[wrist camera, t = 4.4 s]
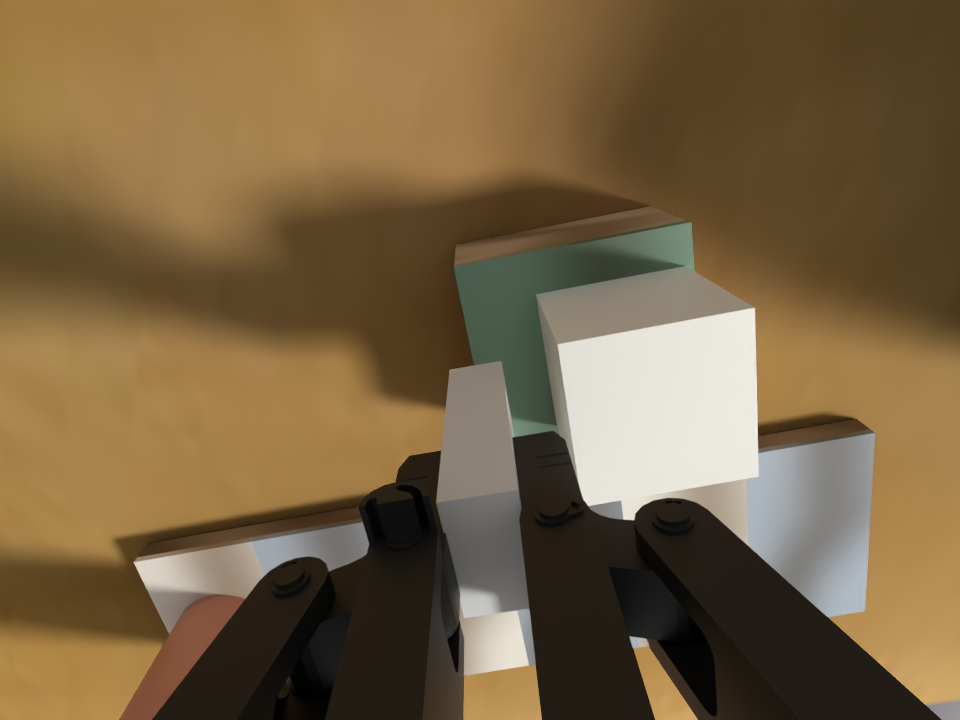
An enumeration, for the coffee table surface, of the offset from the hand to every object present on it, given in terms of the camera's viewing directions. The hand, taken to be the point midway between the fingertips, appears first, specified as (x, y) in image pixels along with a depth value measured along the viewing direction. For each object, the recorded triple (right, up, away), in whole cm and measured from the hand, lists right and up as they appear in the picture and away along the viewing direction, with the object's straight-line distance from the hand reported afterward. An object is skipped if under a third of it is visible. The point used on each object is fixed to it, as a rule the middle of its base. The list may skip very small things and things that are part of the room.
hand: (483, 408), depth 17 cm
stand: (+3, +3, +5) cm, 7 cm away
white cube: (+4, +2, +1) cm, 5 cm away
